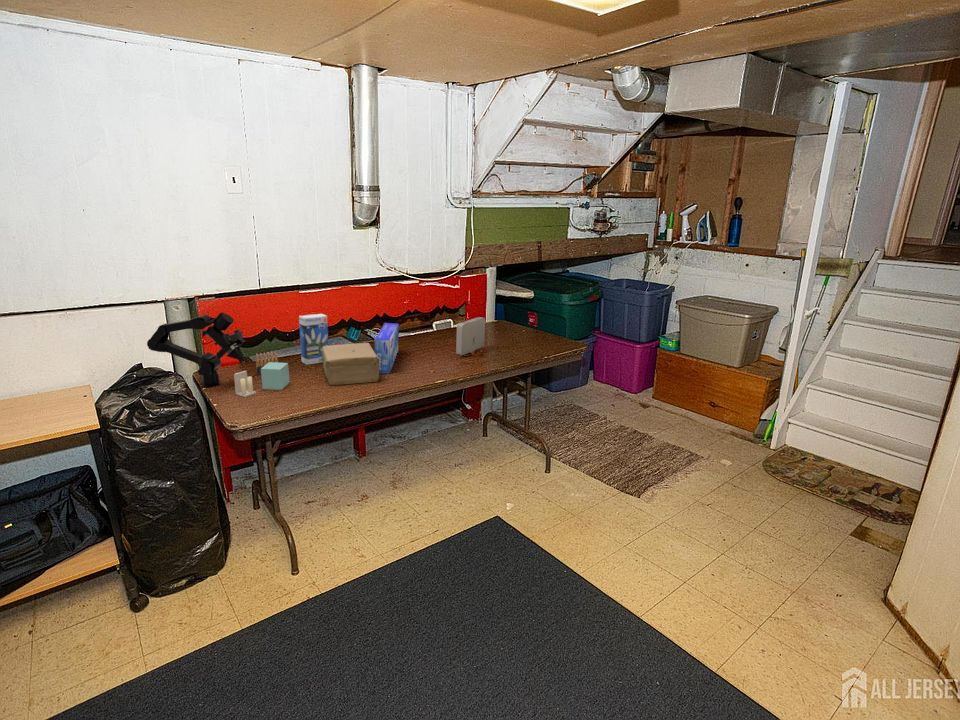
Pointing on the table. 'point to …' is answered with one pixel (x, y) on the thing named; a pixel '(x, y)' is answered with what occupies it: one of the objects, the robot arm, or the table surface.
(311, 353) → the string lights box
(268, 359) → the ammunition clip
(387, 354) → the toner cartridge box
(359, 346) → the paper package
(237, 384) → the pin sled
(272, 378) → the housing
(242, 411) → the table surface
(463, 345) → the network device
